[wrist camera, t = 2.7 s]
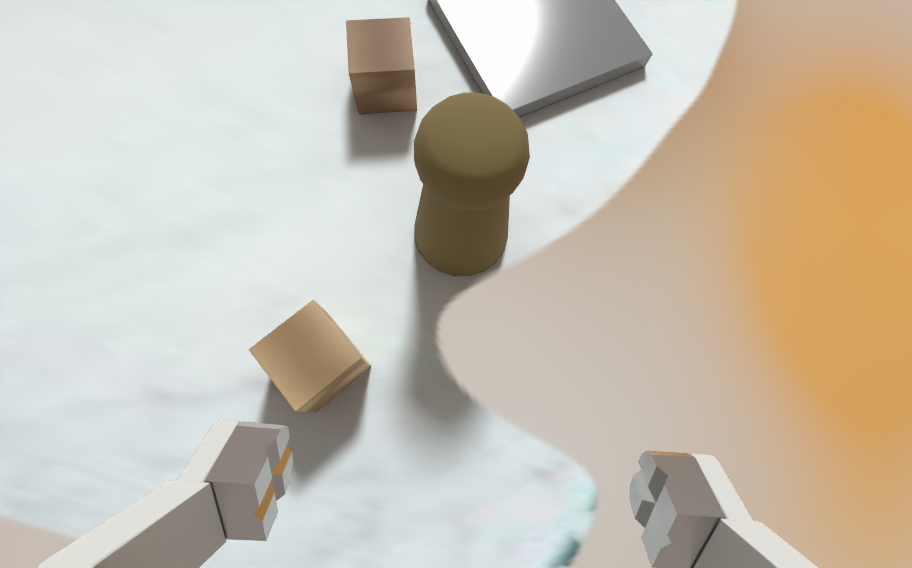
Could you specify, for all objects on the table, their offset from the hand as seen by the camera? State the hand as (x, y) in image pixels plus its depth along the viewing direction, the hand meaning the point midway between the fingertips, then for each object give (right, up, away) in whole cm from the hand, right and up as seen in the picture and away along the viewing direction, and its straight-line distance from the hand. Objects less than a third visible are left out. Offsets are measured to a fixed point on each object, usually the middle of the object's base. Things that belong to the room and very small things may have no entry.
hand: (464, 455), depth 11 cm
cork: (0, +7, +19) cm, 21 cm away
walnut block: (-5, +18, +22) cm, 29 cm away
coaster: (+6, +23, +24) cm, 33 cm away
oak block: (-8, -1, +17) cm, 18 cm away
